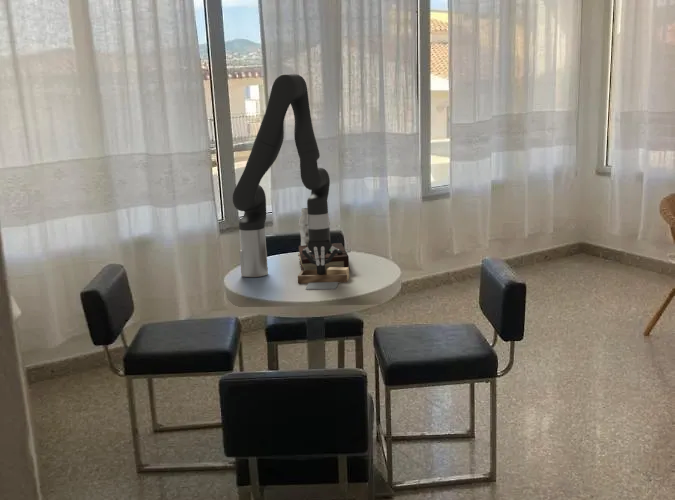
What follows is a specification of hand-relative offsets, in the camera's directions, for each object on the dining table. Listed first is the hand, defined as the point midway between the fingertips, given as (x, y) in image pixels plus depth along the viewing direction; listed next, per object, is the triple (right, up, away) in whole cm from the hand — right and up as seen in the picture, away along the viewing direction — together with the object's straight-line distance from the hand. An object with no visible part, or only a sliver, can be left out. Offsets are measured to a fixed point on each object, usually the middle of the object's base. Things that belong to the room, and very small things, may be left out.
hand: (321, 275), depth 248 cm
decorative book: (0, +2, +19) cm, 20 cm away
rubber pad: (0, -3, -9) cm, 10 cm away
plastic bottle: (-6, +5, +36) cm, 37 cm away
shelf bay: (+1, -1, 0) cm, 2 cm away
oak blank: (+6, -2, 0) cm, 6 cm away
